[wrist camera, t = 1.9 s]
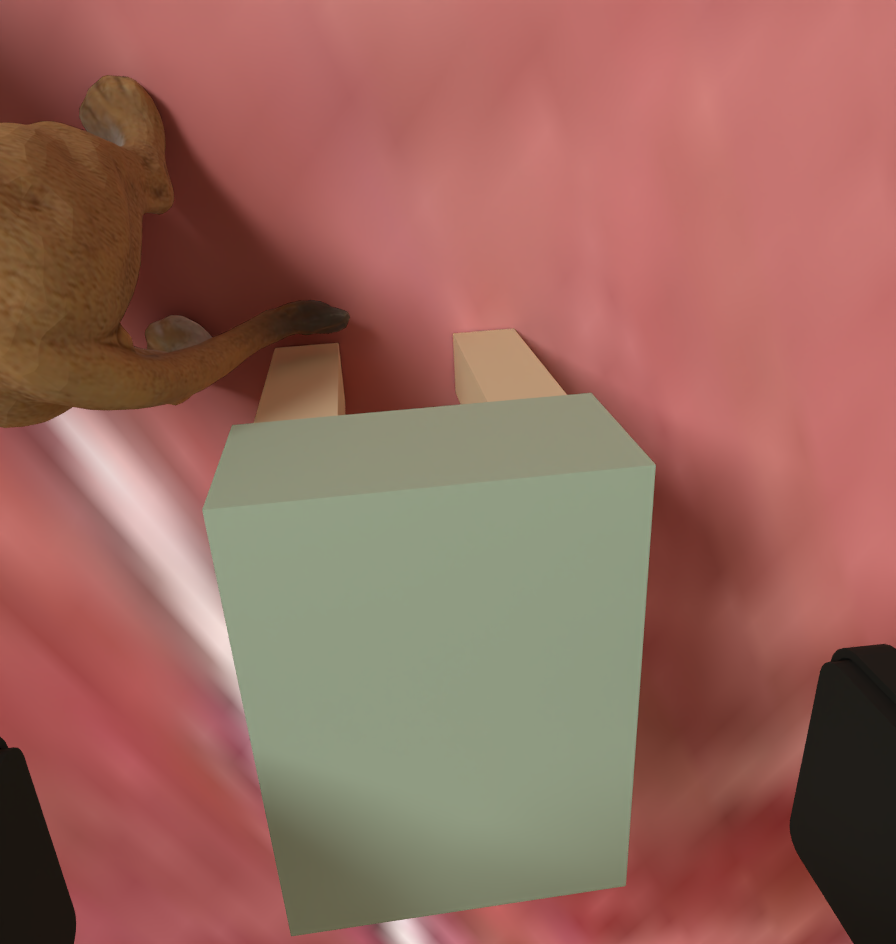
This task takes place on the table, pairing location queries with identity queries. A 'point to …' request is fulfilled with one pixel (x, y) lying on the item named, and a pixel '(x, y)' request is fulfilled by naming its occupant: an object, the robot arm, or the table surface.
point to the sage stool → (436, 634)
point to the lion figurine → (102, 269)
